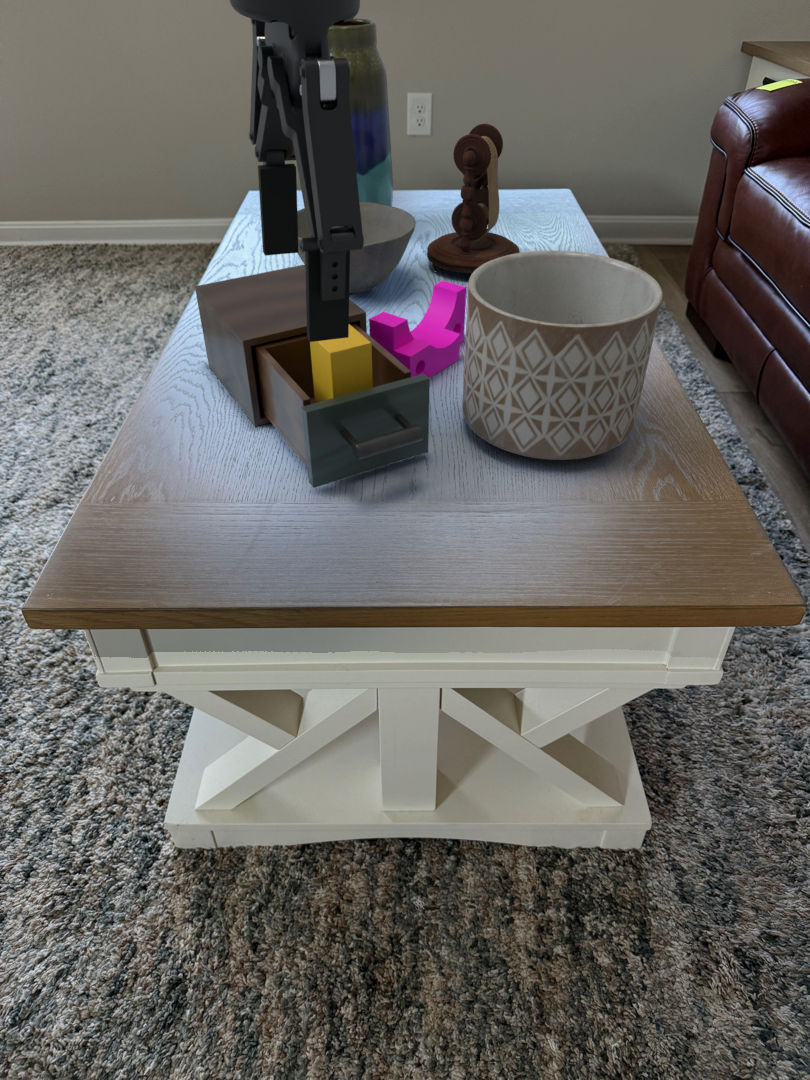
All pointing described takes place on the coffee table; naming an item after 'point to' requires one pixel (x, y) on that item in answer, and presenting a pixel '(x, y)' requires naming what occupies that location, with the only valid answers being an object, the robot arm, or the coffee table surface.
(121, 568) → the coffee table surface
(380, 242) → the bowl
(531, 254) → the planter
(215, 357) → the cabinet
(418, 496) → the coffee table surface
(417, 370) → the toy block
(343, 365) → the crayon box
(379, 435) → the drawer
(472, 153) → the brown rounded piece
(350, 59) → the vase
